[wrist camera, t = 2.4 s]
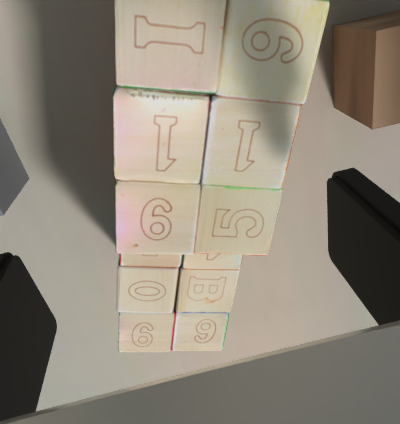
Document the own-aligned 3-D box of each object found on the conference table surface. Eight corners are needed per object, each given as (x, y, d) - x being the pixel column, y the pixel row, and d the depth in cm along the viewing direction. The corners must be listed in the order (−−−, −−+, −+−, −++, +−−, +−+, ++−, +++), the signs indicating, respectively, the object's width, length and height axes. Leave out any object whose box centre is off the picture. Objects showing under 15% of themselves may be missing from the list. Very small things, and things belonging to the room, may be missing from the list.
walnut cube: (413, 7, 22) (476, 7, 18) (406, 90, 25) (460, 108, 20) (332, 25, 22) (376, 31, 18) (333, 107, 25) (372, 129, 20)
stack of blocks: (203, 259, 30) (231, 401, 19) (124, 256, 29) (108, 405, 18) (255, -66, 20) (379, -150, 9) (136, -88, 19) (114, -212, 8)
